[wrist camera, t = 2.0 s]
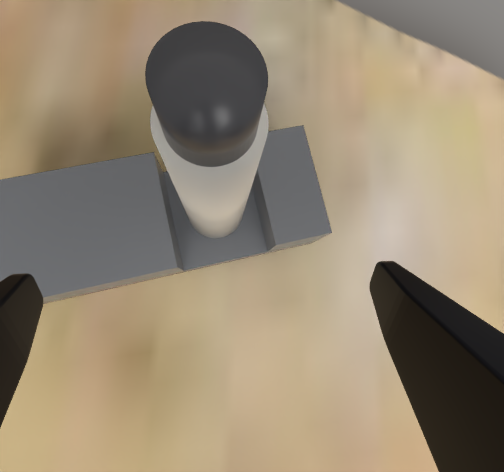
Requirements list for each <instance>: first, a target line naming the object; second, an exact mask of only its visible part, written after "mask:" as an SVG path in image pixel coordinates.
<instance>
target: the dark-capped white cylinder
mask: <svg viewBox="0 0 504 472" xmlns="http://www.w3.org/2000/svg"><path fill="white" fill-rule="evenodd" d="M145 76H146V85H147V89H148V92H149V95H150V98H151V101H152V103H153V106H152V110H151V116H150V126H151V133H152V136H153V139H154V142H155V144H156V146H157V149H158V151H159V153H160V155H161V157H162V160H163V162H164V164H165V166H166V169H167V171H168V173H169V175H170V178H171V180H172V182H173V184H174V187H175V189H176V191H177V193H178V196H179V198H180V200H181V202H182V205H183V207H184V209H185V211H186V213H187V216H188V218H189V220H190V222H191V224H192V226H193V228H194V229H195V230H196V231H197V232H198V233H200V234H201V235H203V236H205V237H209V238H222V237H225V236H228V235H230V234H231V233H232V232H234V231H235V230H236V229H237V227H238V226H239V224H240V222H241V219H242V216H243V213H244V209H245V206H246V203H247V200H248V197H249V193H250V190H251V187H252V184H253V181H254V177H255V174H256V171H257V168H258V165H259V161H260V158H261V155H262V152H263V149H264V145H265V142H266V139H267V134H268V126H269V123H268V114H267V110H266V107H265V104H264V100H265V96H266V91H267V87H268V72H267V68H266V64H265V61H264V58H263V56H262V55H261V53H260V51H259V50H258V48H257V47H256V45H255V44H254V43H253V42H252V41H251V40H250V39H249V38H248V37H247V36H245V35H244V34H243V33H241V32H240V31H238V30H236V29H234V28H232V27H230V26H227V25H224V24H220V23H216V22H205V21H201V22H192V23H188V24H184V25H181V26H179V27H177V28H175V29H173V30H171V31H170V32H168V33H167V34H165V35H164V36H163V37H162V38H161V39H160V40H159V41H158V42H157V43H156V45H155V46H154V48H153V49H152V51H151V53H150V55H149V57H148V61H147V64H146V71H145Z"/></svg>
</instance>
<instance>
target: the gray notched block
mask: <svg viewBox="0 0 504 472" xmlns="http://www.w3.org/2000/svg"><path fill="white" fill-rule="evenodd" d="M330 233H332V231H331V227H330V223H329V220H328V216H327V212H326V208H325V205H324V201H323V197H322V194H321V190H320V186H319V182H318V179H317V175H316V171H315V168H314V164H313V160H312V156H311V153H310V149H309V145H308V141H307V138H306V134H305V130H304V127H303V125H302V126H296V127H291V128H285V129H280V130H274V131H268V134H267V139H266V142H265V145H264V149H263V152H262V155H261V158H260V161H259V165H258V168H257V171H256V174H255V177H254V181H253V184H252V187H251V190H250V193H249V197H248V200H247V203H246V206H245V209H244V213H243V216H242V219H241V222H240V224H239V226H238V227H237V229H236V230H235V231H234V232H232V233H231V234H230V235H228V236H225V237H222V238H209V237H205V236H203V235H201V234H200V233H198V232H197V231H196V230H195V229H194V228H193V226H192V224H191V222H190V220H189V218H188V216H187V213H186V211H185V209H184V207H183V205H182V202H181V200H180V198H179V196H178V193H177V191H176V189H175V187H174V184H173V182H172V180H171V178H170V175H169V173H168V171H167V172H163V170H162V168H161V166H160V164H159V162H158V160H157V158H156V156H155V154H154V152H152V153H146V154H141V155H135V156H130V157H124V158H119V159H113V160H108V161H102V162H96V163H91V164H85V165H80V166H74V167H69V168H63V169H58V170H52V171H46V172H41V173H35V174H30V175H24V176H19V177H13V178H8V179H2V180H0V281H2V280H3V279H5V278H7V277H8V276H10V275H12V274H23V273H28V274H31V275H32V276H33V277H34V279H35V281H36V283H37V285H38V287H39V289H40V291H41V293H42V296H43V304H45V303H49V302H54V301H58V300H62V299H67V298H71V297H76V296H80V295H84V294H89V293H93V292H98V291H102V290H106V289H111V288H115V287H120V286H124V285H128V284H133V283H137V282H142V281H146V280H150V279H155V278H159V277H164V276H168V275H172V274H177V273H181V272H186V271H190V270H194V269H199V268H203V267H208V266H212V265H216V264H221V263H225V262H230V261H234V260H238V259H243V258H247V257H252V256H256V255H260V254H265V253H269V252H274V251H278V250H282V249H287V248H291V247H296V246H300V245H305V244H309V243H312V242H314V241H316V240H318V239H320V238H322V237H324V236H326V235H328V234H330Z"/></svg>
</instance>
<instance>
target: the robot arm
mask: <svg viewBox="0 0 504 472" xmlns="http://www.w3.org/2000/svg"><path fill="white" fill-rule="evenodd" d="M370 292H371V296H372V299H373V303H374V306H375V310H376V313H377V317H378V320H379V324H380V327H381V330H382V334H383V337H384V340H385V342H386V345H387V348H388V350H389V352H390V355H391V357H392V360H393V362H394V365H395V367H396V369H397V372H398V374H399V377H400V379H401V381H402V384H403V386H404V389H405V391H406V393H407V396H408V398H409V401H410V403H411V405H412V408H413V410H414V413H415V415H416V418H417V420H418V422H419V425H420V427H421V430H422V432H423V434H424V437H425V439H426V442H427V444H428V446H429V449H430V451H431V454H432V456H433V458H434V461H435V463H436V466H437V468H438V471H439V472H504V334H503V333H502V332H500V331H499V330H497V329H496V328H494V327H493V326H491V325H490V324H488V323H487V322H485V321H484V320H482V319H480V318H479V317H477V316H476V315H474V314H473V313H471V312H470V311H468V310H467V309H465V308H464V307H462V306H461V305H459V304H458V303H456V302H455V301H453V300H452V299H450V298H449V297H447V296H446V295H444V294H443V293H441V292H440V291H438V290H437V289H435V288H433V287H432V286H430V285H429V284H427V283H426V282H424V281H423V280H421V279H420V278H418V277H417V276H415V275H414V274H412V273H411V272H409V271H408V270H406V269H405V268H403V267H402V266H400V265H399V264H397V263H396V262H394V261H380V262H378V263H377V264H376V266H375V269H374V272H373V275H372V278H371V281H370ZM42 307H43V296H42V293H41V291H40V289H39V287H38V285H37V283H36V281H35V279H34V277H33V276H32V275H31V274H28V273H23V274H12V275H10V276H8V277H7V278H5V279H3V280H2V281H0V427H1V425H2V422H3V420H4V417H5V415H6V412H7V410H8V407H9V405H10V403H11V400H12V398H13V395H14V393H15V390H16V388H17V385H18V383H19V380H20V378H21V375H22V373H23V371H24V368H25V365H26V363H27V360H28V357H29V354H30V350H31V347H32V343H33V339H34V336H35V332H36V329H37V325H38V322H39V318H40V314H41V311H42Z"/></svg>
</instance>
